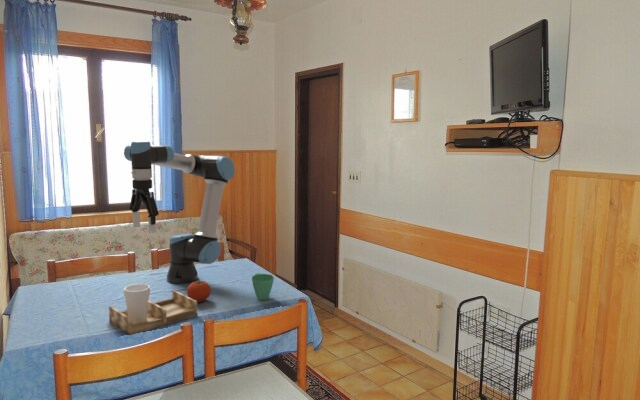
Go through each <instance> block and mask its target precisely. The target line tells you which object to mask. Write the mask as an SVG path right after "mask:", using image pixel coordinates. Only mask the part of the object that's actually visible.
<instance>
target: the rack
mask: <svg viewBox="0 0 640 400" xmlns="http://www.w3.org/2000/svg"><path fill="white" fill-rule="evenodd" d="M171 292H172V295H171V296H172V298H171V297H170V298H167V299H164V300H159V301H156V302H153V301H152V300H150V299H149V300H148V309H147V318H146V320H145V321H143V322H139V323H132V319H131V318H130V317H128V312H127V309H125V310H119V309H117V308H116V307H114V306H113V305H109V306H108V314H109V315H108V316H109V319H108V320H109V322H110V323H112V324H113V325H115V326H116V327H117V328H119V329H121V331H123V332H124V333H126V334H128V336H133V335H135V334H140V333H143V332H146V331H149V330H153V329H155V328H159V327H162V326H166V325H169V324H172V323H174V322H175V323H176V322H178V321H183V320H185V319H189V318H192V317H196V316H198V302H197V301H196V300H194V299H192V298H190V297H188V295H187V294H186V295H185V294H183V293H182V292H179V291H177V290H175V289H174V290H172V291H171Z"/></svg>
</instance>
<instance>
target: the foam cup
mask: <svg viewBox="0 0 640 400" xmlns="http://www.w3.org/2000/svg"><path fill="white" fill-rule="evenodd" d="M150 293H151V286H150V285H149V284H146V283H134V284H129V285H127V286H125V287H124V288H123V296H124V300H125V305H126V310H127V312H128V317H130V318H131V319H132V323H139V322H143V321H145V320H146V318H147V309H148V300H150V299H149V298H150Z"/></svg>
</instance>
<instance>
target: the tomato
mask: <svg viewBox="0 0 640 400" xmlns="http://www.w3.org/2000/svg"><path fill="white" fill-rule="evenodd" d="M211 289H212V288H211V287H210V284H209V283H208V282H207V281H205V280H200V279H197V280H195V281H192V282H190V284H189V285H188V286H187V289H186V296H188V297H190V298H192V299H194V300H196V301H197V303H200V302H204V301H206V300H207V299H208V298H210V295H211V293H212V292H211V291H212V290H211Z"/></svg>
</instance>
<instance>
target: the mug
mask: <svg viewBox="0 0 640 400" xmlns="http://www.w3.org/2000/svg"><path fill="white" fill-rule="evenodd" d="M274 280H275V277H274V275H272V274H269V273H260V272H257V273H255V275H252V277H251V281H252V285H253V290H254V294H255V296H256V298H257V299H256V300H259V301H267V300H268V299H269V297H270V294H271V292H272V288H273V284H274Z"/></svg>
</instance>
